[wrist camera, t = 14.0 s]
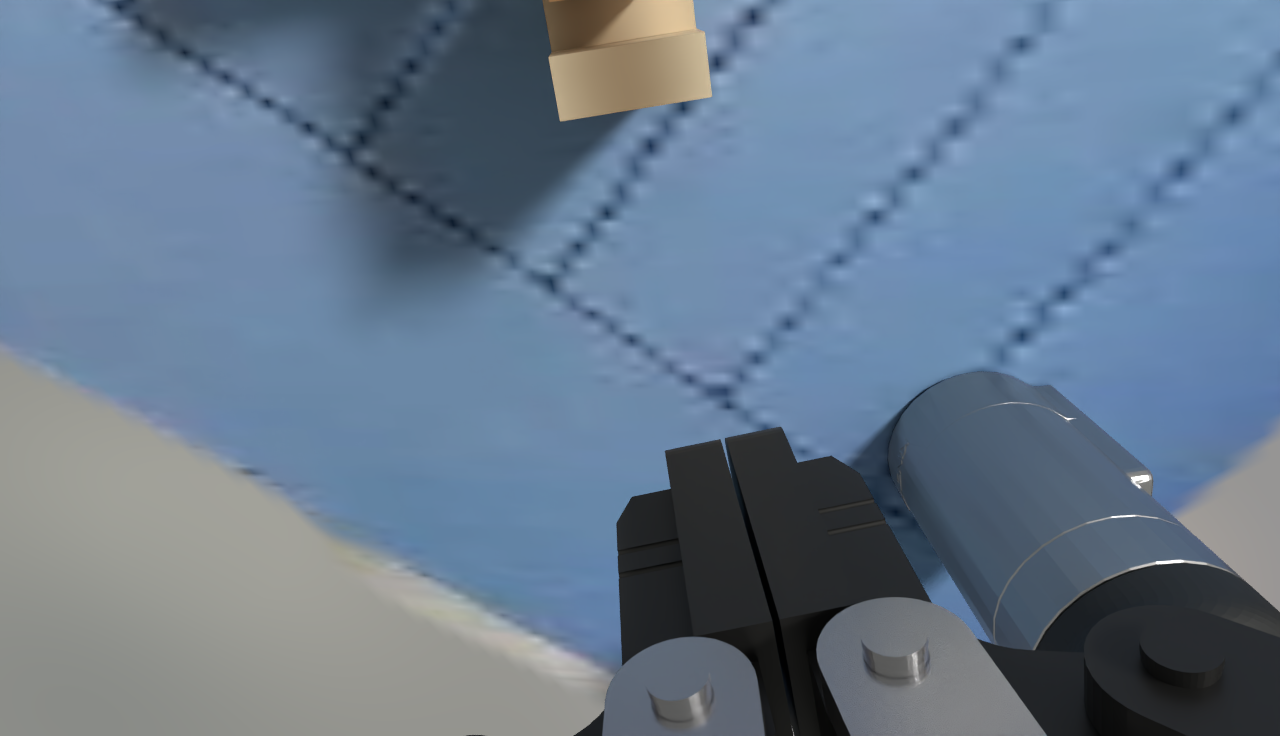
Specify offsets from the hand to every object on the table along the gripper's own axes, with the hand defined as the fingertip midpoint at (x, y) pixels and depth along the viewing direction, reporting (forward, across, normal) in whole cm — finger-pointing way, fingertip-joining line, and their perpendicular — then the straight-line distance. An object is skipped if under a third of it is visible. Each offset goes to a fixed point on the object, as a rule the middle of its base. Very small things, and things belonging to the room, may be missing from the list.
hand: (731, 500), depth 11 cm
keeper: (+33, 0, -6) cm, 33 cm away
